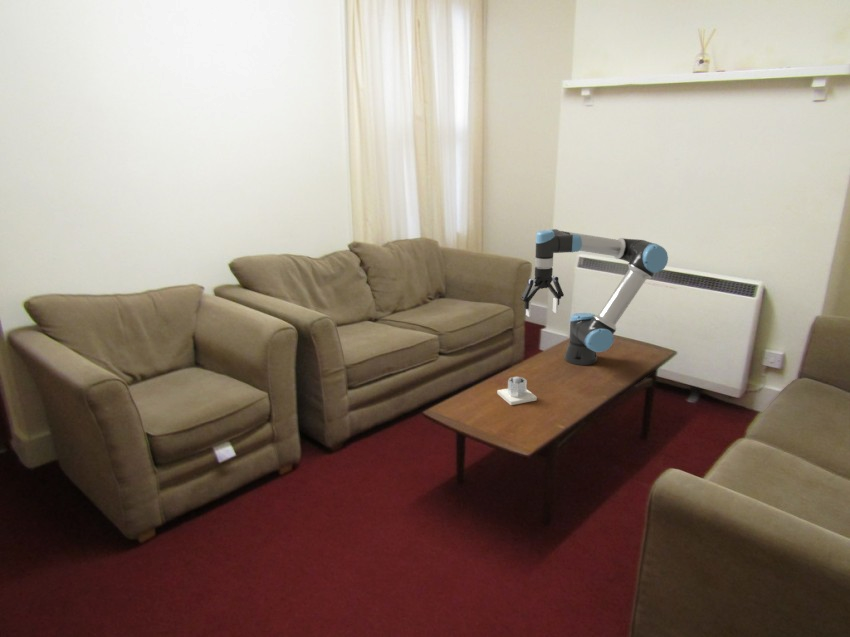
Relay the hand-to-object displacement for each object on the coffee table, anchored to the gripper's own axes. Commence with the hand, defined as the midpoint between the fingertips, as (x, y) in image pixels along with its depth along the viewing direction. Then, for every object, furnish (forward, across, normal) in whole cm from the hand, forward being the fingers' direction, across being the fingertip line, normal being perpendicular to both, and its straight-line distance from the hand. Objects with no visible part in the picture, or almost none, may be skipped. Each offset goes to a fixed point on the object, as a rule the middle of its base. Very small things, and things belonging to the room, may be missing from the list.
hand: (541, 314), depth 250 cm
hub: (+27, +21, +17) cm, 38 cm away
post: (+29, +21, +17) cm, 39 cm away
